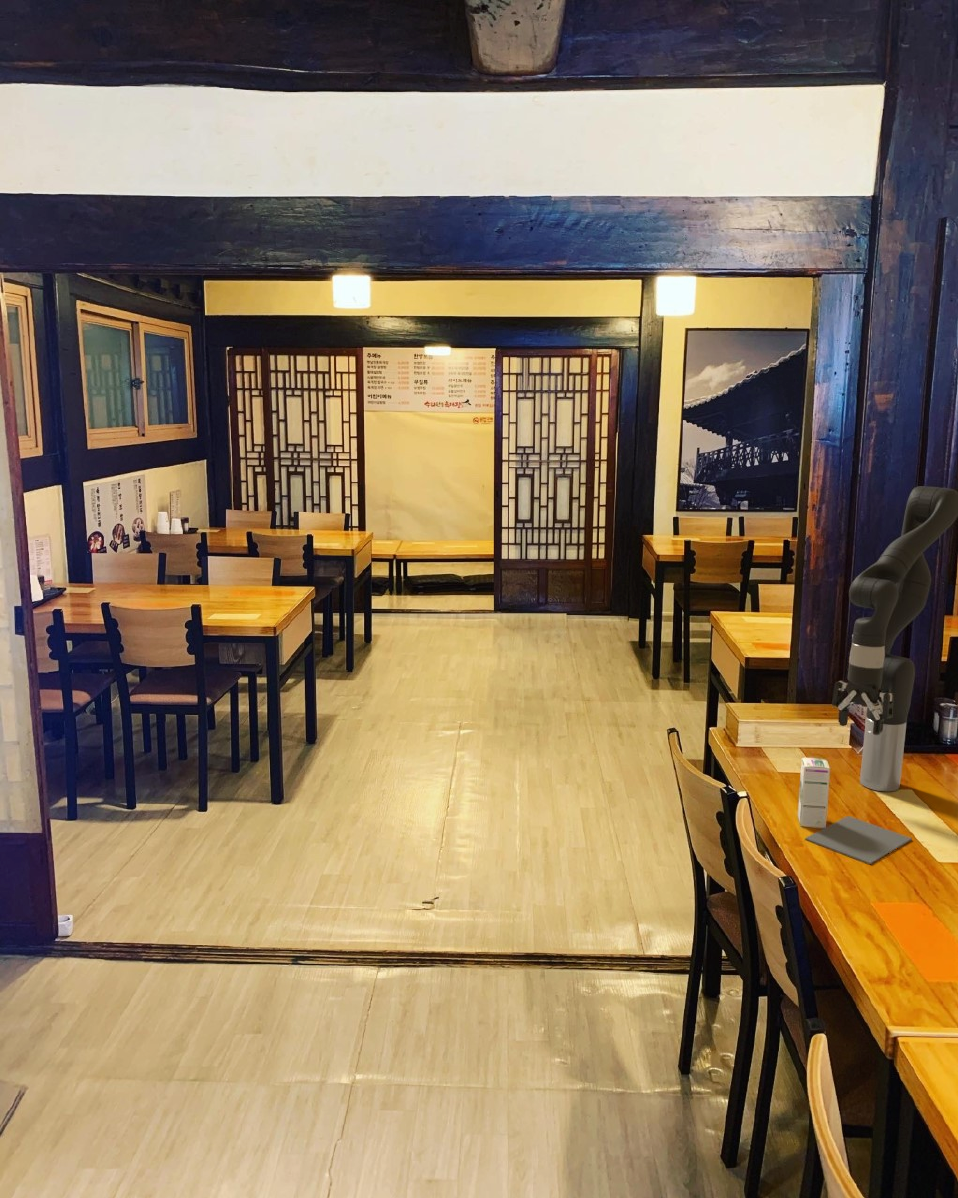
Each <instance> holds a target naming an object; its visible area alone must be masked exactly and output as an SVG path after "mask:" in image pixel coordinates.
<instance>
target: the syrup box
mask: <svg viewBox="0 0 958 1198" xmlns="http://www.w3.org/2000/svg"><path fill="white" fill-rule="evenodd" d="M830 775H831V767H830V765H829V762H828V759H825V758H819V757H801V766H800V777H799V790H798V791H799V792H798V807H797V818H798V822H799V826H801V827H806V828H814V829H815V828H816V829H824V828H826V827H827V818H828V805H829V804H828V803H829V789H830V788H829V787H830Z"/></svg>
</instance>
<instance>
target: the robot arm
mask: <svg viewBox="0 0 958 1198" xmlns="http://www.w3.org/2000/svg"><path fill="white" fill-rule="evenodd" d="M905 506H906V507H905V511H904V514H903V515H904V517H903V523H902V528H901V529H902V530H901V534H900V537H897V538H896V539H895V540H894V541H892V542H891V543H889V545H888V546H887V547H886V548H885V550H884V552H883V553H882V554H881V555H880V556H879V558H878V560H877V561H876V562H874V563H873V564H872V565H870V566H869V567H868V568H866V569H865V570H863V571H862V572H861V573H860V574H858V576H856V577H855V579H854V580H853V581H852V583H851V584H850V586H849V589H848V597H849V600H850V602H851V603H852V604H853V605H855V606H856V607H860V608H866V609H872V610H874V613H873V614H872V616H870V617H866V616H865V617H859V618H857V619H856V620H855V621H854V626H853V632H852V643H851V647H850V651H849V658H848V659H849V660H848V663H849V664H848V670H847V671H848V672H847V680H848V681H847V682H845V681H844V680H839V681H836V682H834V687H833V691H832V700H831V705H832V706H833V707H834V706H835V707H836V708H838V719H837V720H838V723H839V726H842V727H844V726H845V727H846V725H848V723H849V722H848V720H849V709H848V708H850V707H851V705H852V704H854V705H858V706H859V705H860V706H862V707H864V708H866V715H865V725H864V726H865V727H864V733H863V734H864V735H863V745H862V755H861V765H860V766H861V767H860V775H859V783H860V785H862V786H863V787H865V788H867V789H870V790H874V791H876V792H877V791H878V792H879V791H880V792H894V791H898V790H899V789H900V784H901V778H902V771H903V770H902V768H903V760H904V751H905V750H904V748H905V741H906V730H907V722H908V721H907V719H908V714H909V712H910V707H911V702H912V701H911V700H912V695H913V690H914V683H915V676H916V668H915V664H914V661H912V660H911V658H907V657H904V656H898V655H895V654H890V653H891V649H892V647H893V645H894V642H895V640H896V638H897V637H898V636H899V634H900V633H901V632H902V631H903V630H904V629H905V628H906V627H907V626H908V625H910V623H911V622H912V621H914V620H915V619H916V618H917V617H918V616H919V614H920V613H921V612H922V611H923V609H924V608H925V607H926V604H927V601H928V598H929V592H930V590H931V585H932V575H931V571H930V568H929V565H928V562H927V560H926V558H925V554H924V552H925V551H926V550H927V549H928V548H929V547H930V546H931V545H932V544H933V543H935V541H937V540H938V539H940V537H941V536H942V535H943V534H944V533H945V532H946V531H947V530H948V529H949V528H950V527H951V526H952V524H954V522H955V521H956V519H958V491H957V490H955V489H954V488H953V489H952V488H949V487H948V488H947V487H939V486H938V487H937V486H928V485H927V486H926V485H925V486H924V485H922V486H921V485H919V486H915V487H914V488H913V489H912V490H911V492H910V494H909V496H908V499H907V501H906V505H905ZM845 691H846V692H847V694H848V695H847V696H846V697H845V698H844V699H843V697H844V692H845ZM880 698H881V701H880V700H879V699H880Z"/></svg>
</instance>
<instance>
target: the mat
mask: <svg viewBox="0 0 958 1198" xmlns="http://www.w3.org/2000/svg"><path fill="white" fill-rule="evenodd" d="M804 839H805V841H807V842H809V843H812V844H815V845H818V846H821V847H823V848H825V849H828V848H829V849H828V850H830V849H831V851H833V852H836V853H838V852H839V854H840V855H841V854H842V855H843V854H845V855H844V856H846V855H847V857H849V858H851V857H852V859H854V860H857V861H860V862H862V863H864V862H866V863H865V864H867V863H868V864H867V865H869V864H871V865H873V864H874V863H876V862H878V861H879V860H881V859H882V857H883V856H884V857H886V856H887V855H886V854H888V853H889V854H891V853H892V851H893V850H894V851H896V850H897V849H896V848H898V849H899V848H901V847H902V846H904V845H906V844H907V843H910V842H911V841H912V840H913V838H912V837H909V836H907V835H903V834H900V833H897V832H895V831H892V830H890V829H886V828H884V827H881V826H879V825H875V824H872V823H870V822H866V821H864V820H862V819H858V818H855V817H853V816H849V815H848V816H845V817H843V818H841V819H839V820H837V821H836V822H834V823H832V824H829V825H828V826H826V828H821V830H818V831H816V832H815V833H812V834H810V835H808V836H807V837H804ZM895 849H896V850H895ZM894 851H893V852H894ZM890 852H891V853H890ZM889 854H888V855H889ZM885 855H886V856H885ZM884 857H883V858H884ZM880 858H881V859H880ZM875 861H876V862H875ZM873 862H874V863H873Z"/></svg>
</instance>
